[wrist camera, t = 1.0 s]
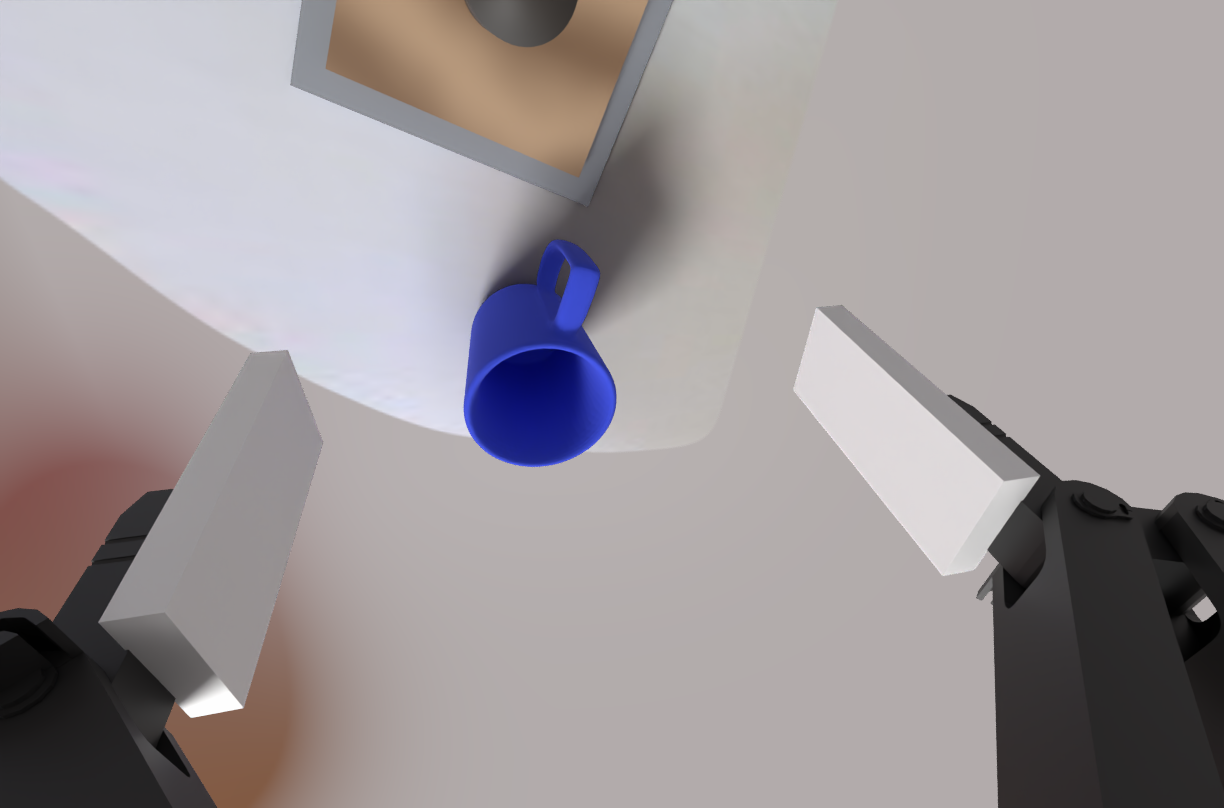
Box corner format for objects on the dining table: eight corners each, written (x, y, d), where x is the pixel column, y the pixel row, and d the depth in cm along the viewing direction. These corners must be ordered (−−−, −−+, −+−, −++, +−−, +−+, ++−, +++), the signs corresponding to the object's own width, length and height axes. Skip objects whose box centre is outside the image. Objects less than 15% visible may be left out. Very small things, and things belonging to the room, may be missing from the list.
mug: (620, 231, 35) (669, 296, 27) (561, 385, 41) (587, 476, 33) (493, 189, 32) (507, 249, 24) (448, 363, 38) (448, 457, 30)
